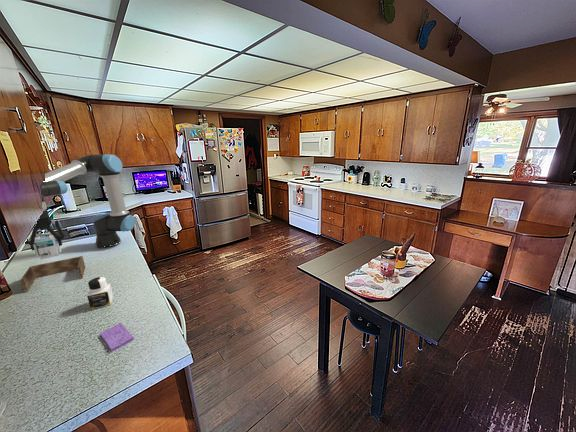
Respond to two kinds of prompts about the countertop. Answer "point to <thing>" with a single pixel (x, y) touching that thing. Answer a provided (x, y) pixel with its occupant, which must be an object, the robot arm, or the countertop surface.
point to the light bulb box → (46, 245)
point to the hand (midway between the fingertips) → (49, 253)
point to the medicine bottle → (99, 293)
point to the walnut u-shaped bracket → (52, 270)
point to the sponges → (116, 336)
